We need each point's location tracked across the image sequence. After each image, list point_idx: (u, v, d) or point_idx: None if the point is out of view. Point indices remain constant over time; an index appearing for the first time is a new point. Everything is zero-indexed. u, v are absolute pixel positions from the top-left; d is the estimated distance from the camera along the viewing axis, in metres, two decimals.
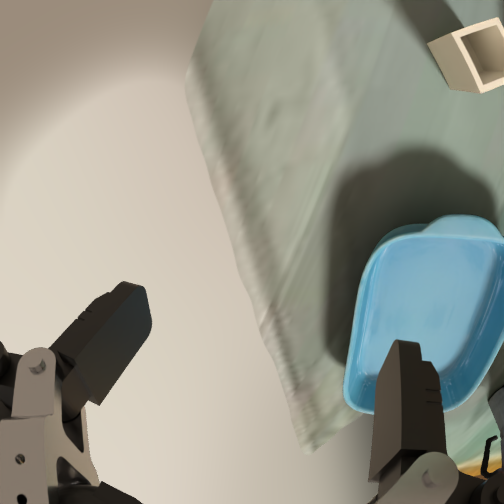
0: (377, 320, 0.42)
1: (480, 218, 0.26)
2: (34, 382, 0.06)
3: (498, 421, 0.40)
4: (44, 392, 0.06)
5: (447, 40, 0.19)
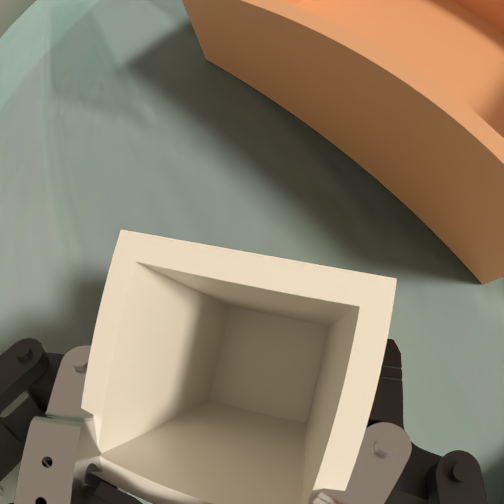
0: None
1: None
2: (77, 382, 0.06)
3: None
4: None
5: None
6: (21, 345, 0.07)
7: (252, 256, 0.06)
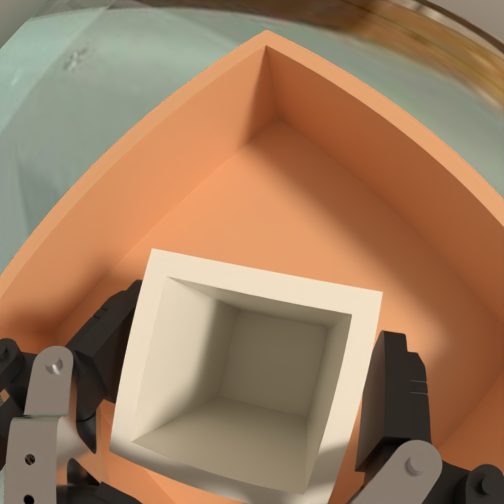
0: None
1: None
2: (50, 381, 0.06)
3: None
4: (62, 391, 0.06)
5: None
6: None
7: (265, 273, 0.07)
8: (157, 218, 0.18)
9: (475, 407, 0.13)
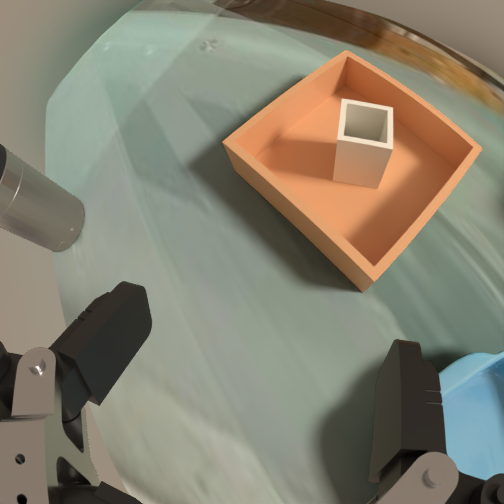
0: None
1: (465, 357, 0.25)
2: (34, 382, 0.06)
3: None
4: (44, 392, 0.06)
5: (341, 150, 0.31)
6: None
7: (368, 103, 0.30)
8: (301, 117, 0.41)
9: None
